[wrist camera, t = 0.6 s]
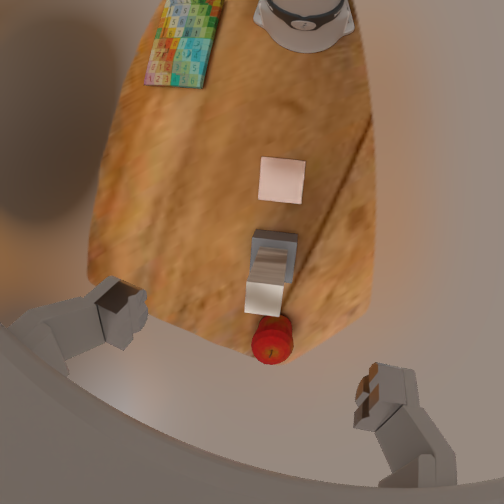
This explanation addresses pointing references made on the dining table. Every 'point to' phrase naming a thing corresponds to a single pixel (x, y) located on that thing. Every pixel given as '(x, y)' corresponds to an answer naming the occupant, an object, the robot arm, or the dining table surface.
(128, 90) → the dining table surface
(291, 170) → the terracotta tile
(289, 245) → the charcoal plinth
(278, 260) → the cream block
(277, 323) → the apple
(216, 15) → the puzzle game
